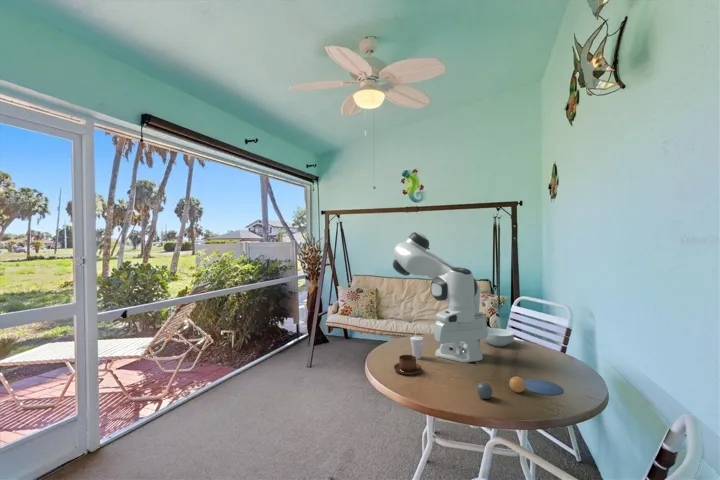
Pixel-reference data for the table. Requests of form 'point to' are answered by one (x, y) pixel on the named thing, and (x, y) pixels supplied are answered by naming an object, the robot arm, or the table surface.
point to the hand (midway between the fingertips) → (461, 353)
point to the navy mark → (543, 387)
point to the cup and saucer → (407, 365)
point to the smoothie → (416, 346)
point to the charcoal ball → (484, 390)
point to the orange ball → (517, 384)
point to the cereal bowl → (499, 337)
